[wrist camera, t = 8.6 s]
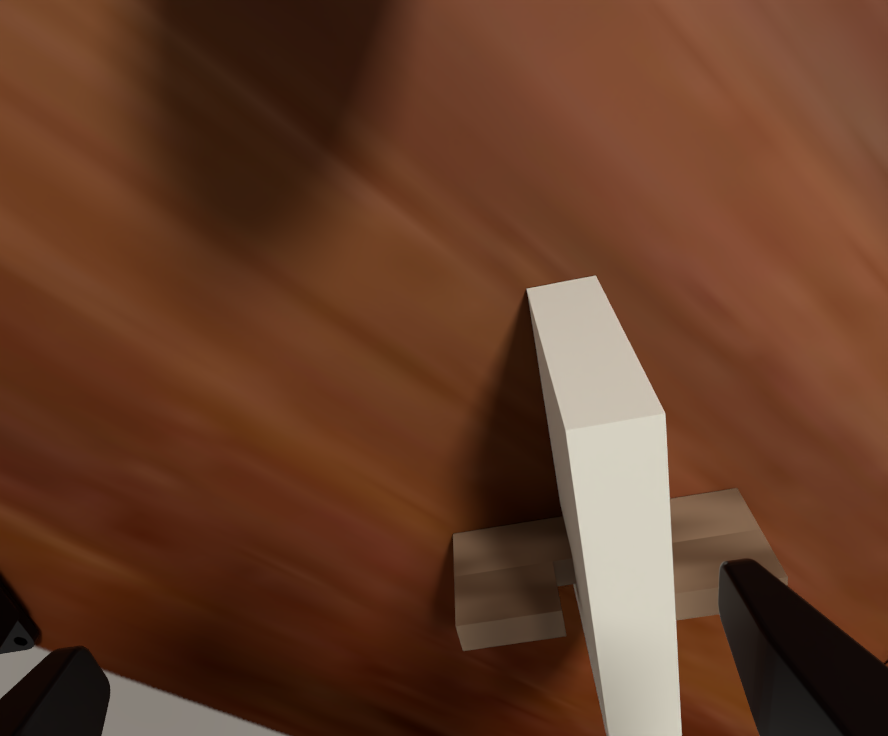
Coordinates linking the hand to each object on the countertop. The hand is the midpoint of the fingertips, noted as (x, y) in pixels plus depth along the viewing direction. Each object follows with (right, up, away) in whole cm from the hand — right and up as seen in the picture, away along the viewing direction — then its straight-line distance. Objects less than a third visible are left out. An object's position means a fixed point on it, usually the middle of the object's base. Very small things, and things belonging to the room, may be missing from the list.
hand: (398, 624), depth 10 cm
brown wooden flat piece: (+6, -2, +15) cm, 16 cm away
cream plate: (+5, +1, +13) cm, 14 cm away
